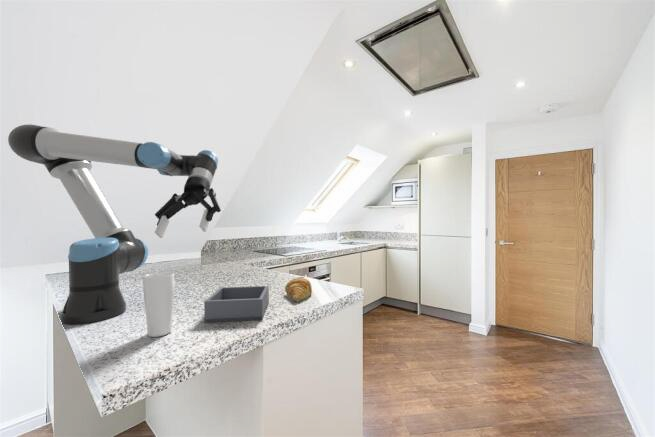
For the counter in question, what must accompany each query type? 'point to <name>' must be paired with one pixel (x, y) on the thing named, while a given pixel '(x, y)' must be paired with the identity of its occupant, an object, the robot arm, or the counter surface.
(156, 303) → the white plastic tumbler
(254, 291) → the bin
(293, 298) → the croissant
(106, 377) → the counter surface
